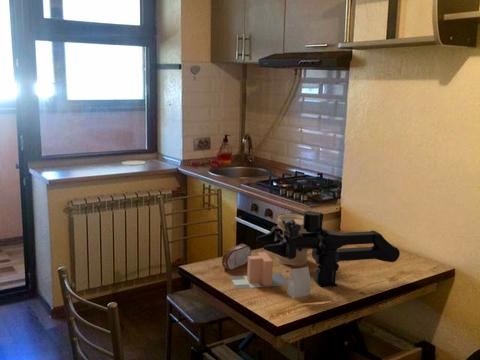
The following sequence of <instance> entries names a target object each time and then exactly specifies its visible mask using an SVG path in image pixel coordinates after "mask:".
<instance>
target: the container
mask: <svg viewBox="0 0 480 360" xmlns="http://www.w3.org/2000/svg"><path fill="white" fill-rule="evenodd" d="M289 217H291V218H292V219H293V220H294V221H295V222H296V223H297V224H299V225H300V226H301V229H300V230H299V233H310V232H306V229H304V228H303V218H304V215H301V214H293V213H291V214H290V213H287V214H281V215H279V216H278V217H277V219H276V220H277V226H278V227H279V228H280V229H281V230H282V231H283V236H284V231H286V230H285V227H284V224H283V222H282V220H284V219H287V218H289ZM275 256H276V258H275V259H276V262H277V263H278V264H281V265H287V266H289V265H290V266H291V267H298V266H299V267H303V265H305V264H306V263H307V262H308V249H302V251H298V250H296V257H295V258H294V259H290V260H288V259H287V258H284V257H282V256H280V255H277V254H275Z"/></svg>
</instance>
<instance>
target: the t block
mask: <svg viewBox="0 0 480 360" xmlns="http://www.w3.org/2000/svg"><path fill="white" fill-rule="evenodd" d="M273 267H274V260H273V259H272V258H271V257H270V255H269V254H268V253H267V252H266V251H265V252H257V255H250V256H248V262H247V275H246V276H247V280H248V282H249V283H259V282H262V284H263V285H264V286H266V285H272V274H274V273H273V272H274V271H273V269H274V268H273Z"/></svg>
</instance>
